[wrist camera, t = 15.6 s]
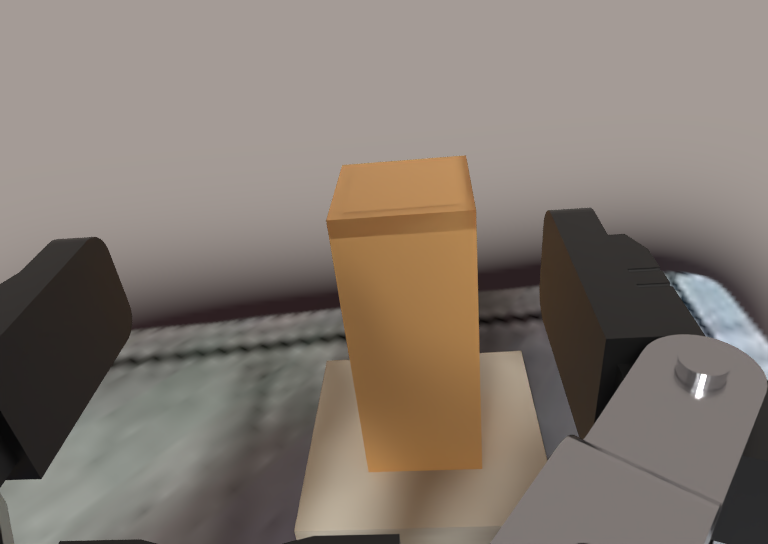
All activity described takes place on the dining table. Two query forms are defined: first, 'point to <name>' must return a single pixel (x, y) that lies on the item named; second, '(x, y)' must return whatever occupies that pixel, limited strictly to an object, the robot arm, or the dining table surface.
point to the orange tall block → (411, 310)
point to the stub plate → (422, 488)
